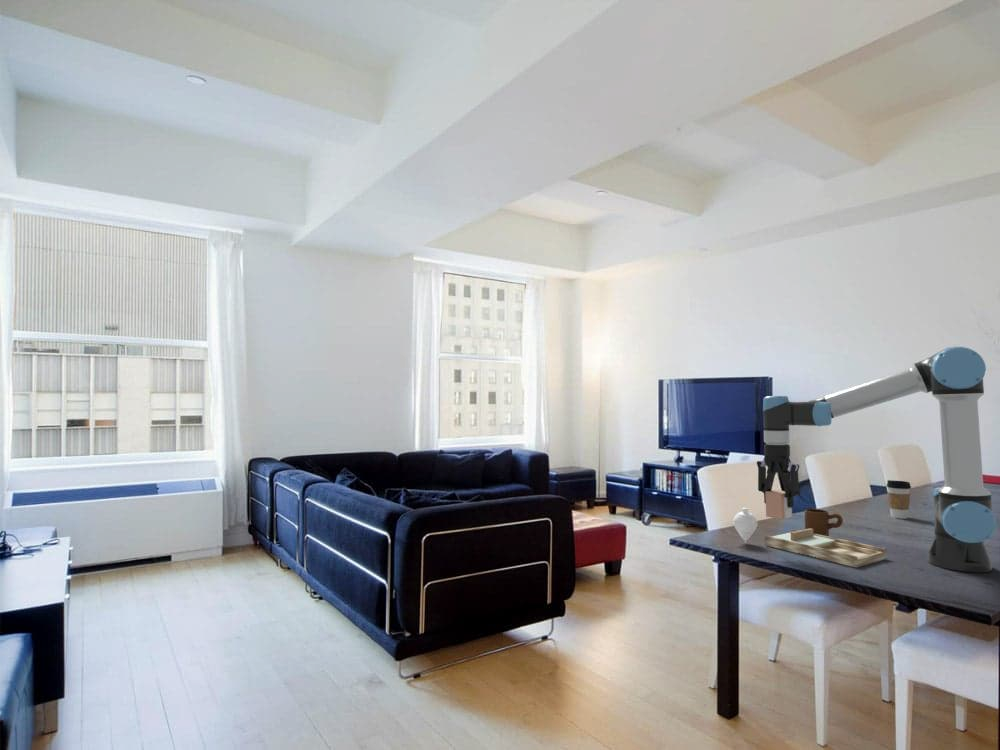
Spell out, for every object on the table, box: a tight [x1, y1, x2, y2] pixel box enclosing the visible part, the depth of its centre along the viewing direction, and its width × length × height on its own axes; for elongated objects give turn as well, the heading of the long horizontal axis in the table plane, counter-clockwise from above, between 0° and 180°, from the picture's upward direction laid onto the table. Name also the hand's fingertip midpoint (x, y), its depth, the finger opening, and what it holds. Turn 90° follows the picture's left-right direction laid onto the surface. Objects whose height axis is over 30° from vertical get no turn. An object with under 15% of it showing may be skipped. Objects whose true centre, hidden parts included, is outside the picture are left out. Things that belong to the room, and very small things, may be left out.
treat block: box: [765, 489, 793, 520], centre depth 190 cm, size 6×6×8 cm
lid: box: [771, 528, 836, 547], centre depth 198 cm, size 14×15×3 cm
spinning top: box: [732, 507, 758, 544], centre depth 203 cm, size 8×8×12 cm
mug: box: [804, 508, 844, 537], centre depth 210 cm, size 12×8×9 cm, turn 51°
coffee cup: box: [886, 479, 912, 520], centre depth 244 cm, size 8×8×15 cm
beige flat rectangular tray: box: [764, 529, 887, 568], centre depth 192 cm, size 30×17×3 cm, turn 31°
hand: (779, 515), depth 190 cm, fingers closed on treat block, 5 cm apart
